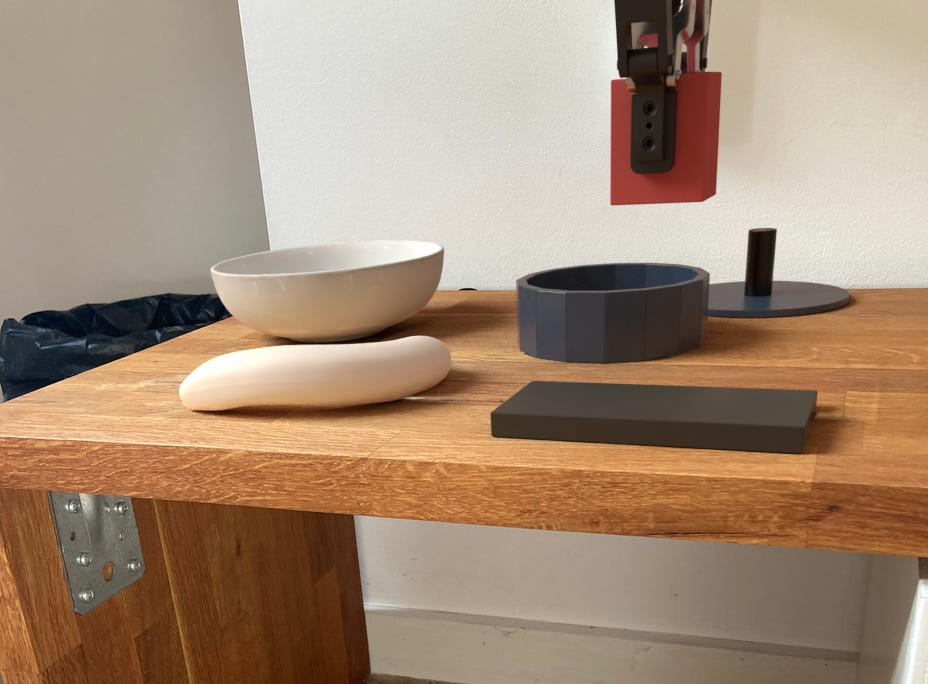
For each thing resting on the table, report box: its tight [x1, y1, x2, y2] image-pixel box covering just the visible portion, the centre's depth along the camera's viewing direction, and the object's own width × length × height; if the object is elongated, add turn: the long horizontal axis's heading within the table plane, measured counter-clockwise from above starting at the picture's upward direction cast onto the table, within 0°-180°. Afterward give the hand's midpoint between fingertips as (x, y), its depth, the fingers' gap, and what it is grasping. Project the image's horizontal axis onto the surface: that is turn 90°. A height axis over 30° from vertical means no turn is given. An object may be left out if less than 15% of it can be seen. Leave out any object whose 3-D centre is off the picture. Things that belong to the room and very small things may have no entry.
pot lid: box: [708, 227, 851, 319], centre depth 92 cm, size 16×16×7 cm
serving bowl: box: [209, 239, 445, 344], centre depth 93 cm, size 21×21×7 cm
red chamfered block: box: [609, 71, 723, 206], centre depth 55 cm, size 5×4×6 cm
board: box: [490, 380, 819, 455], centre depth 62 cm, size 18×8×2 cm, turn 68°
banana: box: [178, 335, 453, 411], centre depth 73 cm, size 5×19×15 cm
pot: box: [515, 262, 711, 365], centre depth 81 cm, size 15×15×6 cm
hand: (661, 168), depth 56 cm, fingers closed on red chamfered block, 4 cm apart
